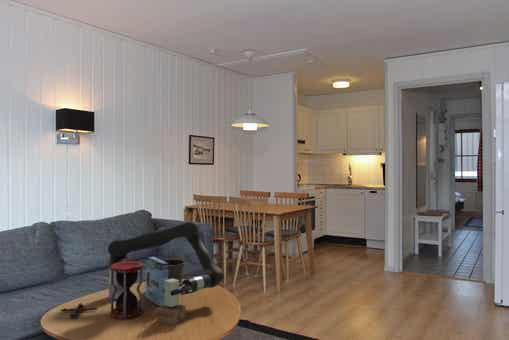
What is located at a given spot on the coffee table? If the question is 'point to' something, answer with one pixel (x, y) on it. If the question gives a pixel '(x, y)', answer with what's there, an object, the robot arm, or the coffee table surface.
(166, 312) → the walnut base block
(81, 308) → the brown crossed bar shape
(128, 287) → the hourglass
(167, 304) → the sage block
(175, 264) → the plant pot
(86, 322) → the coffee table surface
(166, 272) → the gum box
